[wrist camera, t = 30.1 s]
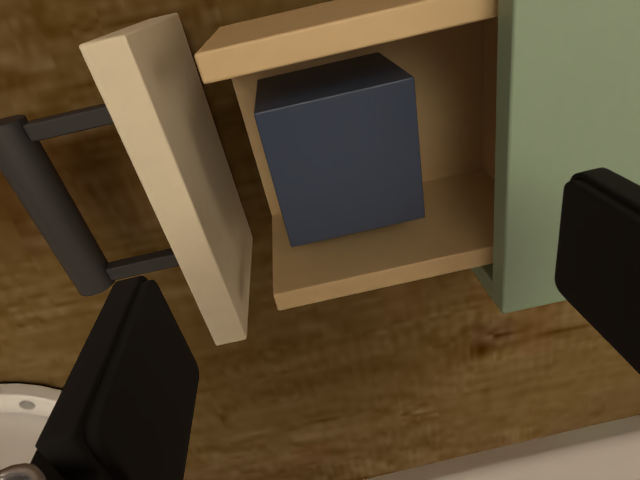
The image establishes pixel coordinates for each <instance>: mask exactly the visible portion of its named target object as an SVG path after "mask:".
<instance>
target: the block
mask: <svg viewBox="0 0 640 480" xmlns="http://www.w3.org/2000/svg"><path fill="white" fill-rule="evenodd" d="M254 118H255V121H256V125H257V128H258V132H259V135H260V139H261V142H262V146H263V150H264V153H265V157H266V160H267V164H268V167H269V171H270V175H271V178H272V182H273V185H274V189H275V192H276V196H277V199H278V203H279V207H280V210H281V214H282V217H283V221H284V224H285V228H286V231H287V235H288V239H289V242H290V246H291V247H295V246H300V245H304V244H309V243H313V242H318V241H322V240H327V239H331V238H336V237H340V236H345V235H349V234H354V233H358V232H362V231H367V230H371V229H376V228H380V227H385V226H389V225H394V224H398V223H403V222H407V221H412V220H416V219H421V218H424V217H425V209H424V196H423V183H422V170H421V157H420V144H419V131H418V118H417V105H416V93H415V80H414V77H413V76H412V75H411V74H409V73H408V72H406V71H405V70H403V69H402V68H401V67H399V66H398V65H396V64H395V63H393V62H392V61H391V60H389V59H388V58H386V57H385V56H383V55H382V54H381V53H379V52H376V53H371V54H367V55H363V56H358V57H354V58H350V59H345V60H341V61H337V62H332V63H328V64H324V65H319V66H315V67H311V68H306V69H302V70H298V71H293V72H289V73H285V74H280V75H276V76H272V77H267V78H263V79H259V80H257V89H256V98H255V108H254Z"/></svg>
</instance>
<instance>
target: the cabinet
mask: <svg viewBox="0 0 640 480" xmlns="http://www.w3.org/2000/svg"><path fill="white" fill-rule="evenodd" d="M601 167H604V168H607V169H609V170H611V171H613V172H615V173H617V174H619V175H621V176H623V177H624V178H626V179H628V180H630V181H632V182H634V183H636V184H638V185H640V0H498V46H497V95H496V143H495V192H494V241H493V263H492V264H488V265H483V266H479V267H474V268H471V269H472V271H473V272H474V274H475V275H476V277H477V278H478V280H479V281H480V283H481V284H482V285H483V287H484V288H485V290H486V291H487V293H488V294H489V296H490V297H491V298H492V299H493V301H494V302H495V304H496V305H497V306H498V308H499V309H500V311H501V312H502V313H509V312H513V311H518V310H523V309H527V308H532V307H536V306H541V305H545V304H550V303H555V302H559V301H564V300H566V299H565V298H564V297H563V296H562V295H561V293H560V292H559V291H558V289H557V287H556V284H555V267H556V258H557V248H558V238H559V229H560V219H561V209H562V200H563V190H564V186H565V184H566V183H567V182H569V181H570V179H571V177H572V176H573V175H574V174H575V173H579V172H583V171H587V170H592V169H596V168H601Z"/></svg>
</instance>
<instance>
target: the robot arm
mask: <svg viewBox="0 0 640 480" xmlns="http://www.w3.org/2000/svg"><path fill="white" fill-rule="evenodd" d="M555 284H556V287H557V289H558V291H559V292H560V293H561V295H562V296H563V297H564V298H565V299H566V300H567V301H568V302H569V303H570V304H571V305H572V306H573V307H574V308H575V309H576V310H577V311H578V312H579V313H580V314H581V315H582V316H583V317H584V318H585V319H586V320H587V321H588V322H589V323H590V324H591V325H592V326H593V327H594V328H595V329H596V330H597V331H598V332H599V333H600V334H601V335H602V336H603V337H604V338H605V339H606V340H607V341H608V342H609V343H610V344H611V345H612V346H613V347H614V348H615V349H616V350H617V352H618V353H619V354H620V355H621V356H622V357H623V358H624V359H625V360H626V361H627V362H628V363H629V364H630V365H631V366H632V367H633V368H634V369H635V370H636V371H637V372H638V373H639V374H640V185H638V184H636V183H634V182H632V181H630V180H628V179H626V178H624V177H623V176H621V175H619V174H617V173H615V172H613V171H611V170H609V169H607V168H604V167H601V168H596V169H592V170H587V171H583V172H579V173H575V174H574V175H573V176H572V177H571V179H570V181H569V182H567V183H566V184H565V186H564V190H563V200H562V209H561V219H560V229H559V238H558V248H557V258H556V267H555ZM198 381H199V370H198V366H197V363H196V361H195V359H194V357H193V355H192V352H191V350H190V348H189V346H188V344H187V342H186V340H185V338H184V336H183V334H182V332H181V330H180V328H179V326H178V324H177V322H176V320H175V318H174V316H173V314H172V312H171V310H170V308H169V306H168V304H167V302H166V300H165V298H164V296H163V294H162V292H161V290H160V288H159V286H158V284H157V283H156V282H155V281H154V280H150V281H148V279H147V278H146V277H144V276H138V277H134V278H130V279H126V280H122V281H118V282H116V283H115V284H114V285H113V287H112V289H111V291H110V294H109V296H108V298H107V300H106V302H105V304H104V306H103V308H102V310H101V312H100V314H99V316H98V318H97V320H96V322H95V324H94V326H93V328H92V330H91V332H90V334H89V336H88V338H87V340H86V343H85V345H84V347H83V349H82V351H81V353H80V355H79V357H78V359H77V361H76V363H75V365H74V367H73V369H72V371H71V373H70V375H69V377H68V379H67V381H66V383H65V385H64V387H63V389H62V390H59V389H54V388H49V387H45V386H40V385H30V384H20V383H12V384H0V480H183V478H184V471H185V465H186V458H187V452H188V446H189V439H190V433H191V426H192V420H193V413H194V407H195V400H196V394H197V387H198ZM365 480H640V415H636V416H631V417H627V418H623V419H619V420H614V421H610V422H606V423H601V424H597V425H593V426H588V427H584V428H580V429H575V430H571V431H567V432H562V433H558V434H554V435H550V436H546V437H541V438H537V439H533V440H529V441H524V442H520V443H516V444H512V445H507V446H503V447H499V448H495V449H491V450H486V451H482V452H478V453H474V454H469V455H465V456H461V457H457V458H453V459H448V460H444V461H440V462H436V463H432V464H427V465H423V466H419V467H415V468H411V469H406V470H402V471H398V472H394V473H390V474H385V475H381V476H377V477H373V478H369V479H365Z"/></svg>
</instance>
